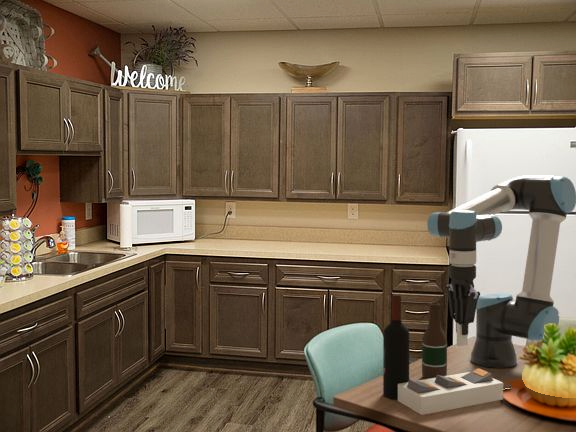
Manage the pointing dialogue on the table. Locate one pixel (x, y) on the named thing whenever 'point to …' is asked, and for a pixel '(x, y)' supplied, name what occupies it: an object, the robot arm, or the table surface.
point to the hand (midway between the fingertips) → (462, 345)
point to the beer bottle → (434, 346)
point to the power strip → (450, 395)
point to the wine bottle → (395, 352)
